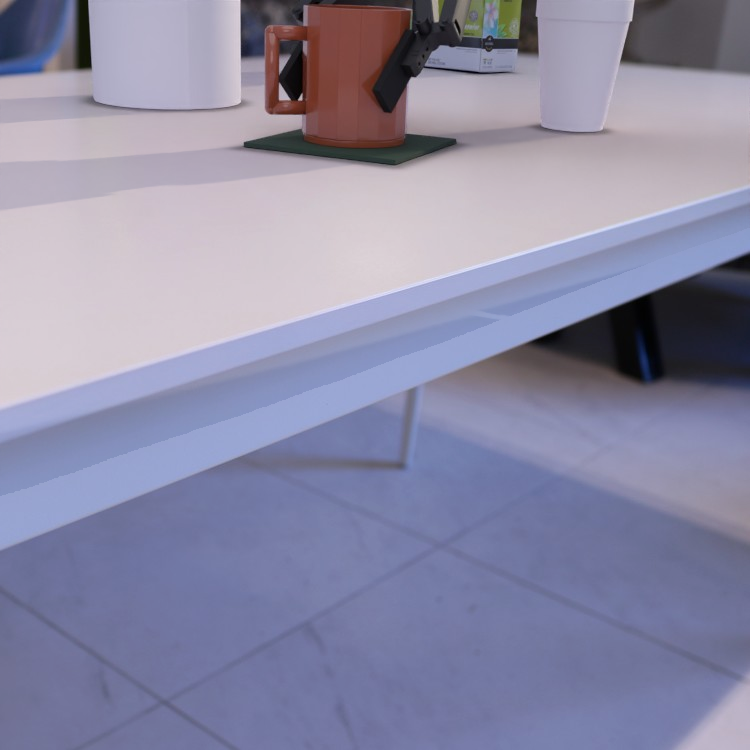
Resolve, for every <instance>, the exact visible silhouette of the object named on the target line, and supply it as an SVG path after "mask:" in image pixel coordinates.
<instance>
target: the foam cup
mask: <svg viewBox="0 0 750 750" xmlns="http://www.w3.org/2000/svg"><path fill="white" fill-rule="evenodd" d="M634 7H635V0H536V7H535V8H536V9H535V17H537V37H538V38H537V41H538V44H537V46H538V76H539V78H538V79H539V102H540V104H539V108H540V109H539V110H540V120H541V122H540V126H541V127H542V128H545V129H549V130H553V131H560V132H573V133H593V132H595V133H596V132H601V131H603V130H604V125H605V124H606V120H607V116H608V112H609V108H610V104H611V99H612V95H613V91H614V88H615V83H616V79H617V76H618V71H619V67H620V63H621V59H622V55H623V51H624V46H625V42H626V39H627V35H628V31H629V26H630V23H631V22H633V16H634Z"/></svg>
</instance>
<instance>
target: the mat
mask: <svg viewBox="0 0 750 750" xmlns="http://www.w3.org/2000/svg"><path fill="white" fill-rule="evenodd" d="M457 140H458V138H453V137H446V136H445V137H444V136H434V135H425V134H416V133H407V134H406V140H405V143H404V144H402V145H399V146H395V147H387V148H341V147H331V146H324V145H318V144H313V143H310V142H307V141H305V140H304V139H303V132H302V128H297V129H293V130H290V131H284V132H281V133H276V134H272V135H267V136H264V137H260V138H259V137H258V138H254V139H251V140H246V141H243V148H244V147H245V148H249V149H250V148H252V149H260V150H267V151H276V152H284V153H285V152H286V153H293V154H301V155H302V154H303V155H311V156H318V157H326V158H327V157H328V158H335V159H343V160H351V161H360V162H361V161H362V162H369V163H378V164H386V165H393V166H396V165H399V164H400V163H404V162H406V161H410V160H413V159H415V158H418V157H420V156H424V155H426V154H430V153H432V152H435V151H438V150H441V149H444V148H447V147H450V146H452V145H455V144H457Z"/></svg>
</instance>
